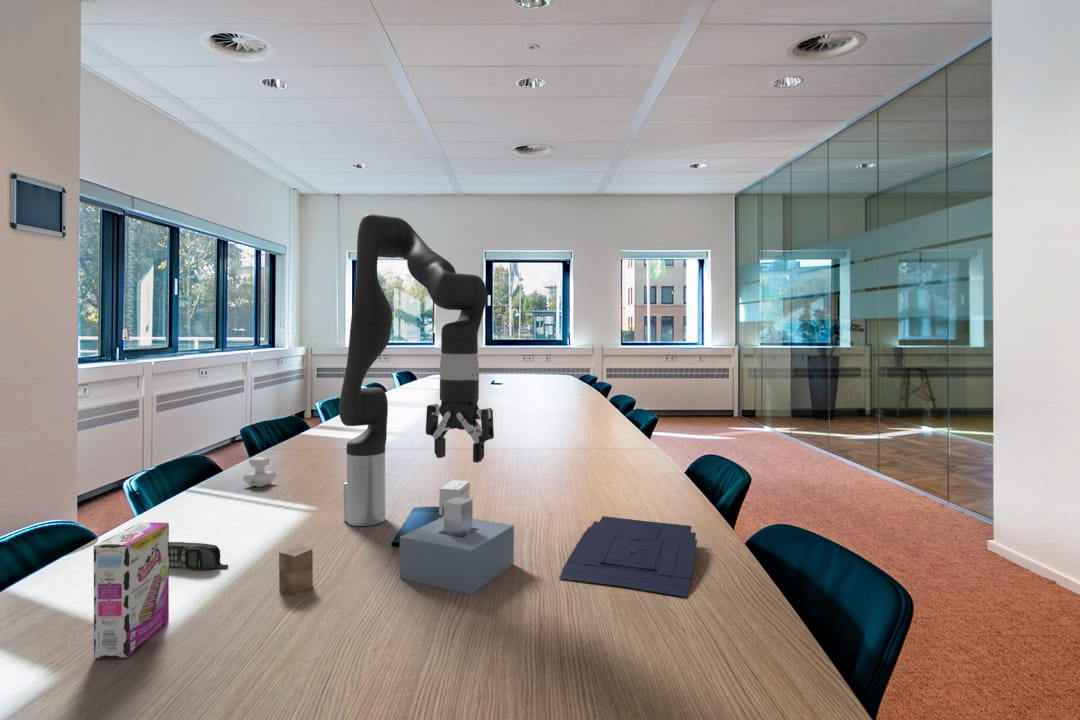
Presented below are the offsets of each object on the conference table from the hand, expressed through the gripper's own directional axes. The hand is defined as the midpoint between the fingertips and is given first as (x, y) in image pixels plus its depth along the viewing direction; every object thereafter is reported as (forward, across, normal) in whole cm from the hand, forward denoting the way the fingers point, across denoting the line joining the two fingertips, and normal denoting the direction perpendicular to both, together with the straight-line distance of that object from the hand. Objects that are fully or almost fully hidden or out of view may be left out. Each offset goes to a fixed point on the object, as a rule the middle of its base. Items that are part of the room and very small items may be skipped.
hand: (459, 459), depth 116 cm
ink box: (+22, -13, +18) cm, 32 cm away
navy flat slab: (+22, +29, +21) cm, 43 cm away
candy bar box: (+22, -29, -44) cm, 57 cm away
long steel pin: (+22, 0, 0) cm, 22 cm away
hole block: (+22, 0, 0) cm, 22 cm away
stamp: (+23, -91, +28) cm, 98 cm away
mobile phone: (+23, -48, -22) cm, 58 cm away
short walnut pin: (+22, -22, -20) cm, 37 cm away
